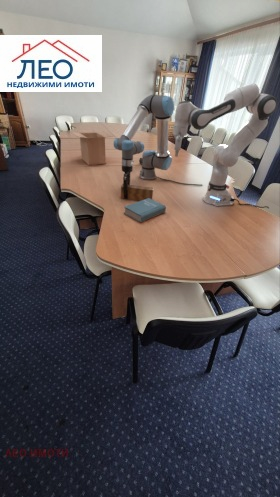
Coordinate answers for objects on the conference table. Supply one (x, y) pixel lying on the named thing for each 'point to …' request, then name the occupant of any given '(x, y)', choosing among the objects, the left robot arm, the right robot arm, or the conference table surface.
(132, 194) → the bar
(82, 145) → the box
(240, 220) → the conference table surface
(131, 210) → the book
